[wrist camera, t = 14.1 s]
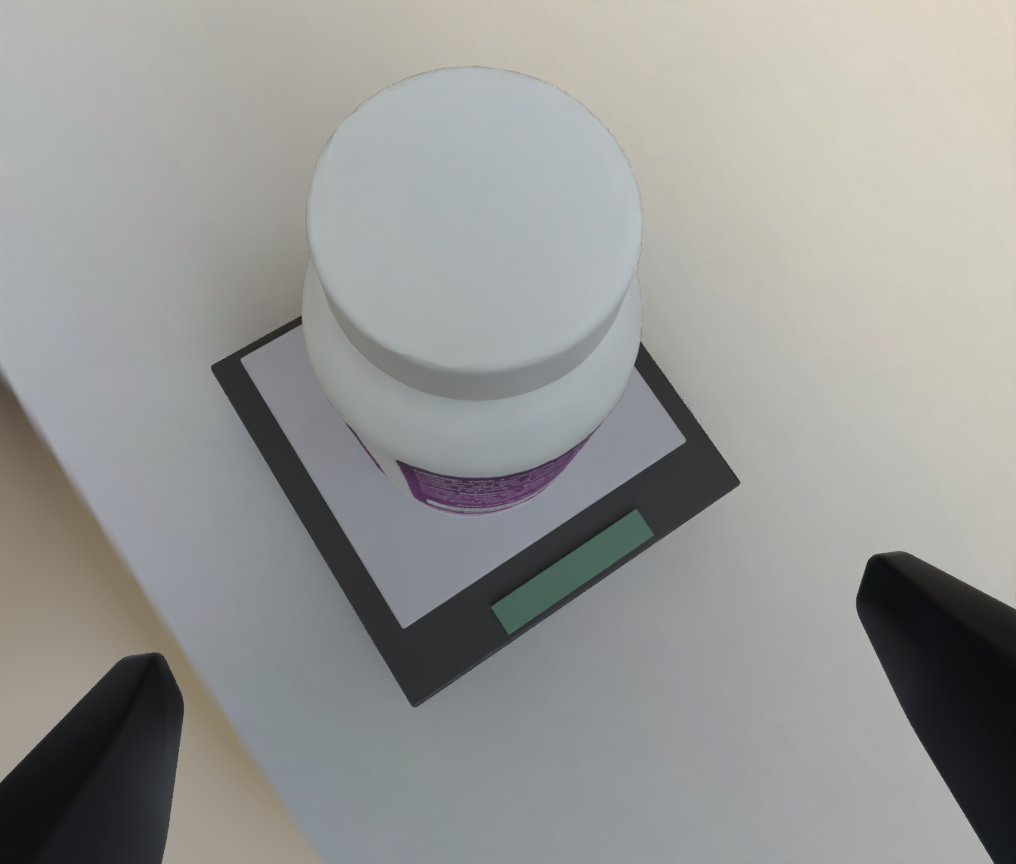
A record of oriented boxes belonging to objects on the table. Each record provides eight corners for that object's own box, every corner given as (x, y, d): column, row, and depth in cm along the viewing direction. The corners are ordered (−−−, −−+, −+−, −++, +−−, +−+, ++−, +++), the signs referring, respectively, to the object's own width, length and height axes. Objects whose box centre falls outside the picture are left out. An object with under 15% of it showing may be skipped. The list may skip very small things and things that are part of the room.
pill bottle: (613, 377, 18) (783, 145, 8) (511, 560, 17) (577, 527, 7) (432, 275, 18) (402, -58, 9) (319, 448, 17) (144, 277, 8)
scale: (418, 695, 19) (411, 714, 16) (235, 389, 20) (199, 358, 17) (713, 493, 20) (752, 479, 18) (524, 225, 22) (534, 173, 19)
